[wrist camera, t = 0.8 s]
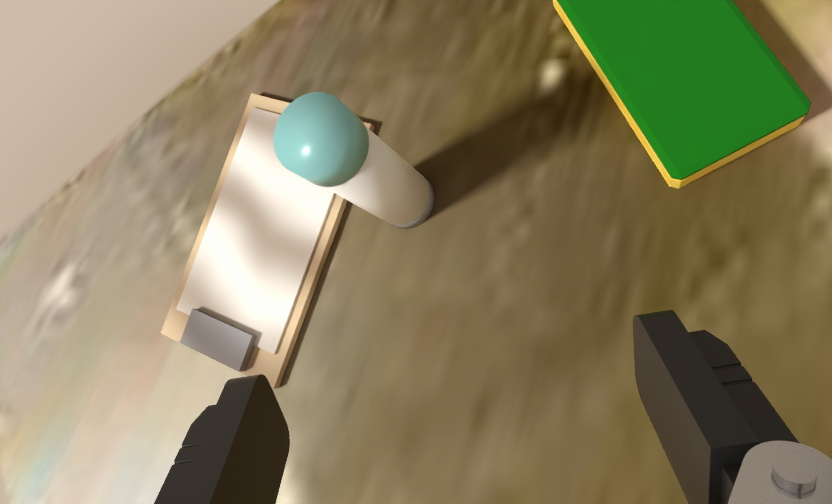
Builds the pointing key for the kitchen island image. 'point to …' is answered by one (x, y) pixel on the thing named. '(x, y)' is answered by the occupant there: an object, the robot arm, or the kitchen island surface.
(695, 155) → the dish sponge
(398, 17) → the kitchen island surface
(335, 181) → the bottle
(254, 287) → the clipboard
